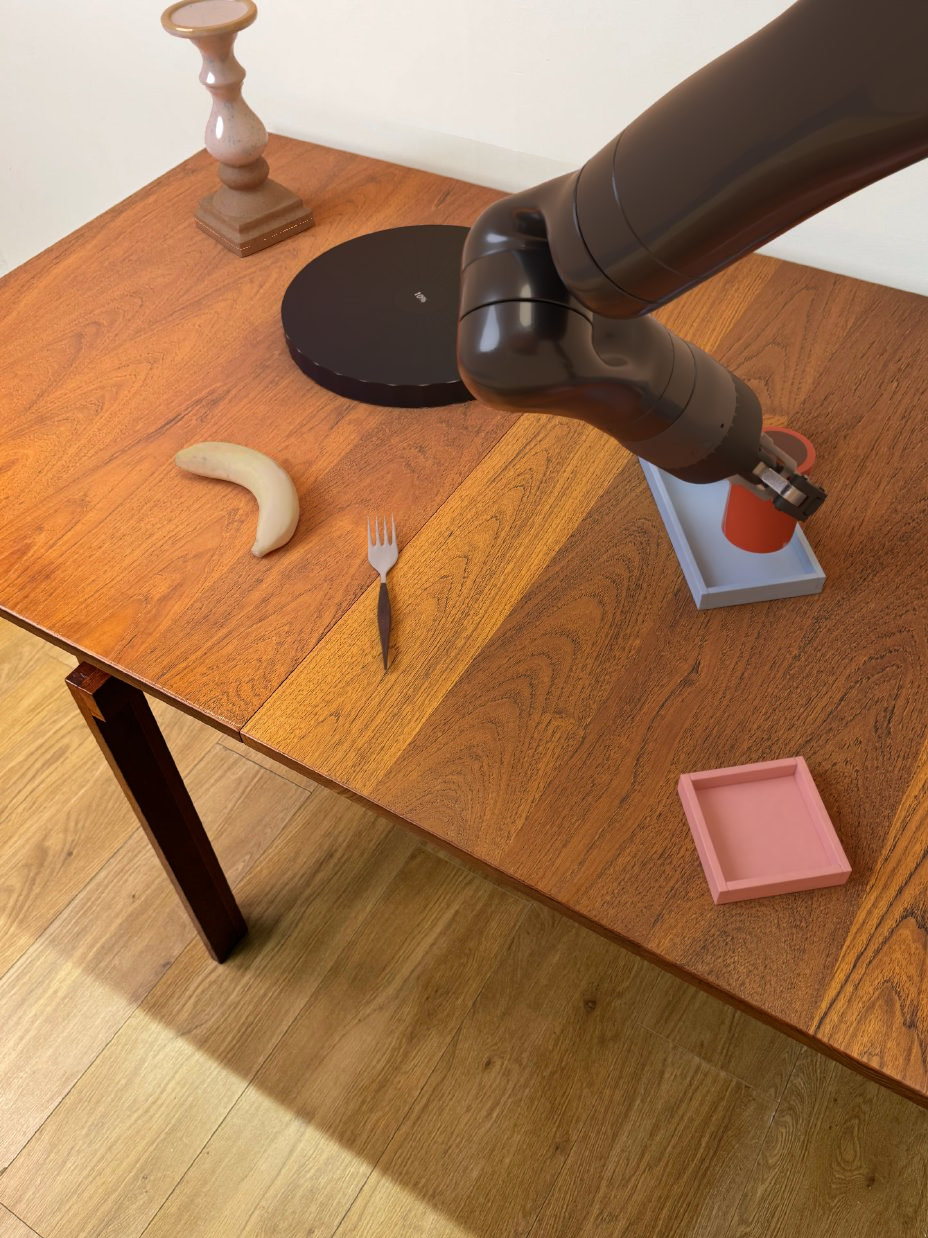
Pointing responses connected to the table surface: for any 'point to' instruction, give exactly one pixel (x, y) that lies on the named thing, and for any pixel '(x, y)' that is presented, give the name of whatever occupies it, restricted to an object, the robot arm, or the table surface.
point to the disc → (381, 317)
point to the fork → (383, 580)
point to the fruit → (250, 486)
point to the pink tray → (762, 830)
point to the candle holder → (234, 134)
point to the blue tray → (726, 548)
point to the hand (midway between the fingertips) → (784, 479)
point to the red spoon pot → (765, 502)
